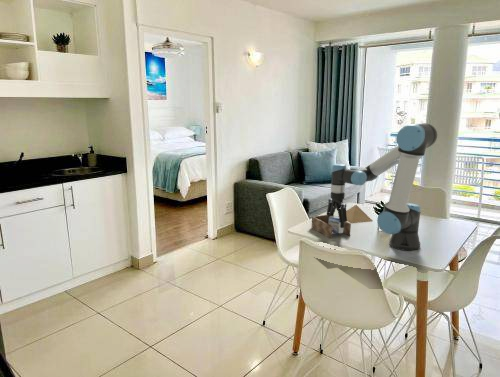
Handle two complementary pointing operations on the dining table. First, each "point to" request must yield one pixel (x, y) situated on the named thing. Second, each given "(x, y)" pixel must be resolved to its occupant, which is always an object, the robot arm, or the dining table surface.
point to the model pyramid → (356, 215)
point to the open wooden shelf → (327, 225)
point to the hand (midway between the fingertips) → (335, 230)
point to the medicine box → (334, 223)
